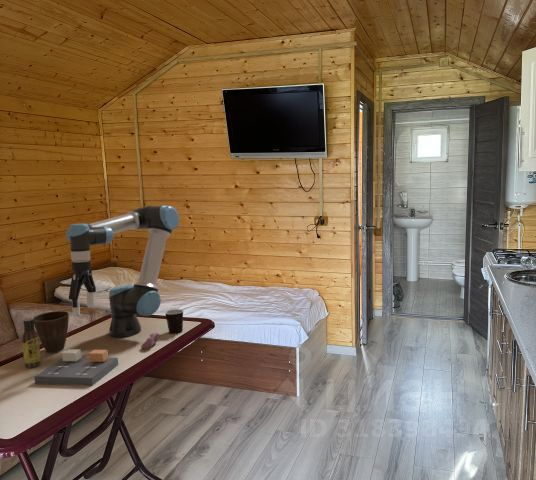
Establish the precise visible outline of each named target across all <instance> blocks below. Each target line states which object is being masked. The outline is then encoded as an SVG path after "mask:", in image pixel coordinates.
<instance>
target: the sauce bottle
mask: <svg viewBox="0 0 536 480" xmlns="http://www.w3.org/2000/svg"><path fill="white" fill-rule="evenodd" d="M33 318H34V317H33ZM33 318H32V317H29V318H25V319H23V323H22V324H23V326H24V327H23V328H24V329H23V330H24V332H23V334H22V336H21V337H22V338H21V339H22V340H21V341H22V351H23V362H24V366H25V368H30V369H32V368H36V367H39V366H40V365H41V362H42V361H41V348H40V339H39V336H38V334H37V331H36V328H35V325H34V319H33Z"/></svg>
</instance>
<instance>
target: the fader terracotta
mask: <svg viewBox="0 0 536 480" xmlns="http://www.w3.org/2000/svg"><path fill="white" fill-rule="evenodd" d="M88 357H89V360H90V362H104V361H105V360H107V359H108V357H109V353H108V349H93V350H91V351H90V352H88Z"/></svg>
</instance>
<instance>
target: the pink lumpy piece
mask: <svg viewBox="0 0 536 480" xmlns="http://www.w3.org/2000/svg"><path fill="white" fill-rule="evenodd" d="M160 336H161V335H160V333H159V332H153V333H151V334H149V336H148V338H147V339H146V340H145V341H144V342H143V343H142V344H141V346H140V348H141V350H146V349H148V348H152V347H153V345H154V346H155V344H157V342H158V340H159V338H160Z"/></svg>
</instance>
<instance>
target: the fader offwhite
mask: <svg viewBox="0 0 536 480" xmlns="http://www.w3.org/2000/svg"><path fill="white" fill-rule="evenodd" d="M61 355H62V356H61V359H63V361H77V360H79V359H80V358H82V357H83V356H82V350H81V348H79V349H73V348H70V349H69V348H67V349H65V350H64V351H62V352H61Z"/></svg>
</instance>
